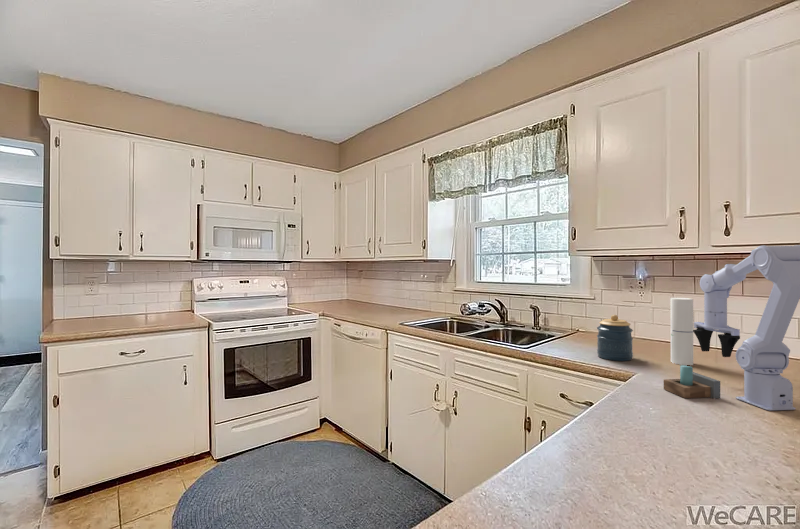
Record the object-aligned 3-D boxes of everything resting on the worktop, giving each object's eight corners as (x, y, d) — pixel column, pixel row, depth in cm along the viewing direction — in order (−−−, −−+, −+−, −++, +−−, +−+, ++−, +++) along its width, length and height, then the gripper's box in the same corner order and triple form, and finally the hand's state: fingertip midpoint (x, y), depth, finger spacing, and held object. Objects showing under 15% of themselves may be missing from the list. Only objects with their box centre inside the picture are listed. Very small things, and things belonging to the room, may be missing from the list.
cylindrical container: (683, 366, 146) (683, 299, 146) (666, 361, 153) (665, 298, 153) (698, 364, 148) (697, 299, 148) (680, 360, 155) (679, 297, 155)
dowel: (694, 393, 116) (694, 367, 115) (690, 395, 114) (690, 368, 114) (682, 391, 118) (682, 364, 118) (678, 392, 116) (678, 366, 116)
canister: (640, 359, 157) (640, 315, 157) (618, 363, 151) (618, 317, 151) (611, 352, 168) (610, 311, 168) (589, 355, 163) (589, 313, 163)
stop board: (720, 398, 111) (720, 381, 111) (713, 398, 111) (713, 381, 111) (691, 387, 121) (691, 371, 121) (685, 387, 121) (685, 371, 121)
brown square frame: (710, 397, 112) (710, 386, 112) (684, 398, 112) (684, 387, 112) (688, 388, 120) (688, 378, 120) (663, 389, 120) (663, 379, 120)
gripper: (749, 314, 118) (749, 359, 118) (707, 308, 133) (707, 348, 133) (727, 315, 118) (727, 359, 118) (688, 309, 132) (688, 349, 132)
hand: (715, 353), depth 125 cm, fingers open, 7 cm apart
